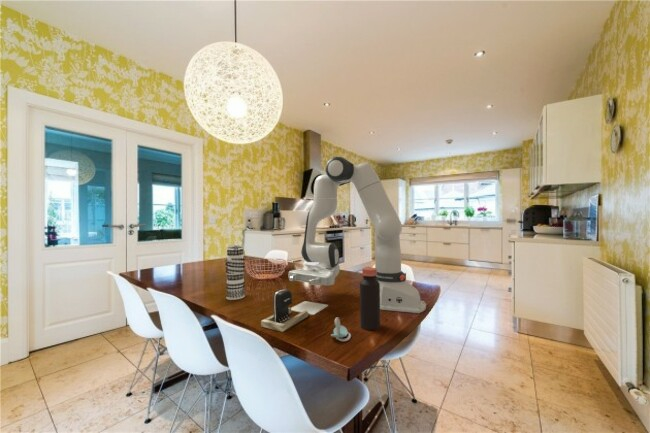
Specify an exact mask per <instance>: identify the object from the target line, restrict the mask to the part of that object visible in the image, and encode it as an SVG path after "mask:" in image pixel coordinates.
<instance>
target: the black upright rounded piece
mask: <svg viewBox="0 0 650 433" xmlns="http://www.w3.org/2000/svg"><path fill="white" fill-rule="evenodd" d="M292 296H293V293H292V292H291V290H288V289H286V288H285V289H280V290H277V291H276V292H275V293H273V298H272V299H273V300H272V301H273V303H272V304H273V305H272V306H273V315H274V322H278V323H284V322H285V321H287V320H289V319H291V316H290V314H289V308H290V307H289V306H290V305H292V303H293V297H292Z"/></svg>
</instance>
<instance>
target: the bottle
mask: <svg viewBox="0 0 650 433" xmlns="http://www.w3.org/2000/svg"><path fill="white" fill-rule="evenodd" d="M361 272H362V274H361V275H362V277H363V278H362V280H361V281H360V282H359V312H360V313H359V317H360V318H359V319H360V322H359V326H360V327H361V328H362V329H364V330H366V331H377V330H379V329H380V328H381V309H380V284H379V282H378V281H377V280H376V277H377V276H376V275H377V269H376V268H375V267H371V266H370V267H369V266H368V267H363V268H362V269H361Z"/></svg>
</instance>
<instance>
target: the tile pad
mask: <svg viewBox="0 0 650 433" xmlns="http://www.w3.org/2000/svg"><path fill="white" fill-rule="evenodd" d="M328 307H329V304H326V303H319V302H313V301H306V300H304V301H302V302H300V303H298V304H296V305H294V306H292V307H290V308H291V312H297V313H301V312H303V311H308V315H310V316H314V315H316V314H318V313H320V312H321V311H323V310H324V309H325V308H328Z"/></svg>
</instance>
